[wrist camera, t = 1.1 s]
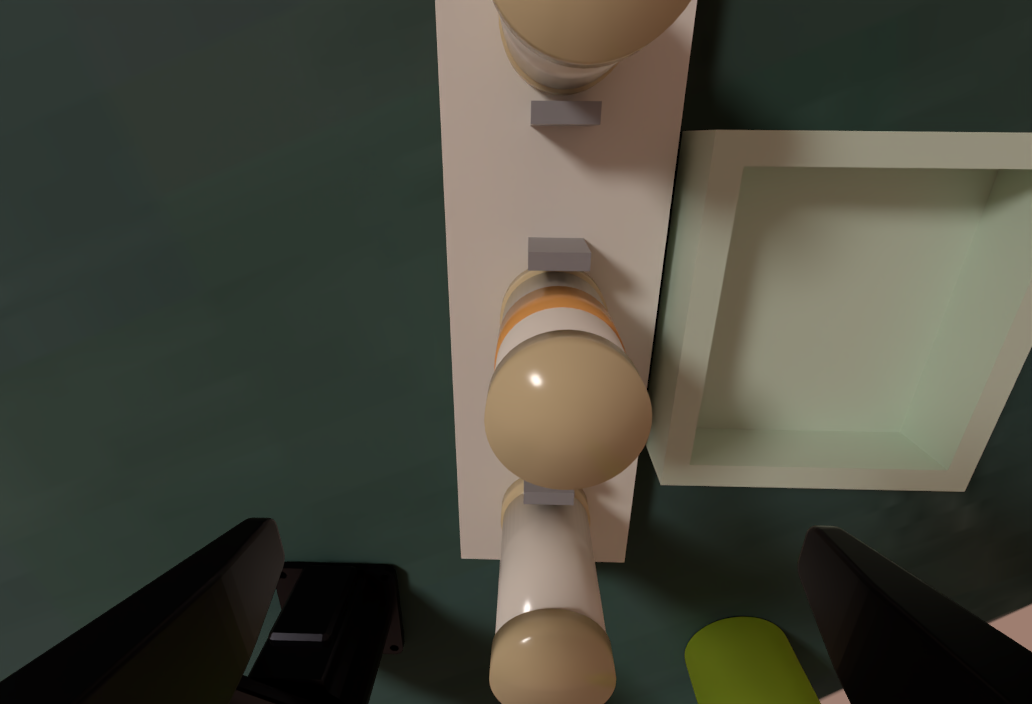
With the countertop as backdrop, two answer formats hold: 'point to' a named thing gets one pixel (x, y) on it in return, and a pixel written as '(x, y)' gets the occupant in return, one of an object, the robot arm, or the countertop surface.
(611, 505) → the fuse holder
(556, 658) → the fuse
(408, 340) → the countertop surface
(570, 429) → the fuse marked
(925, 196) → the tray
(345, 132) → the countertop surface
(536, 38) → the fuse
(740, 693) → the soap dispenser
